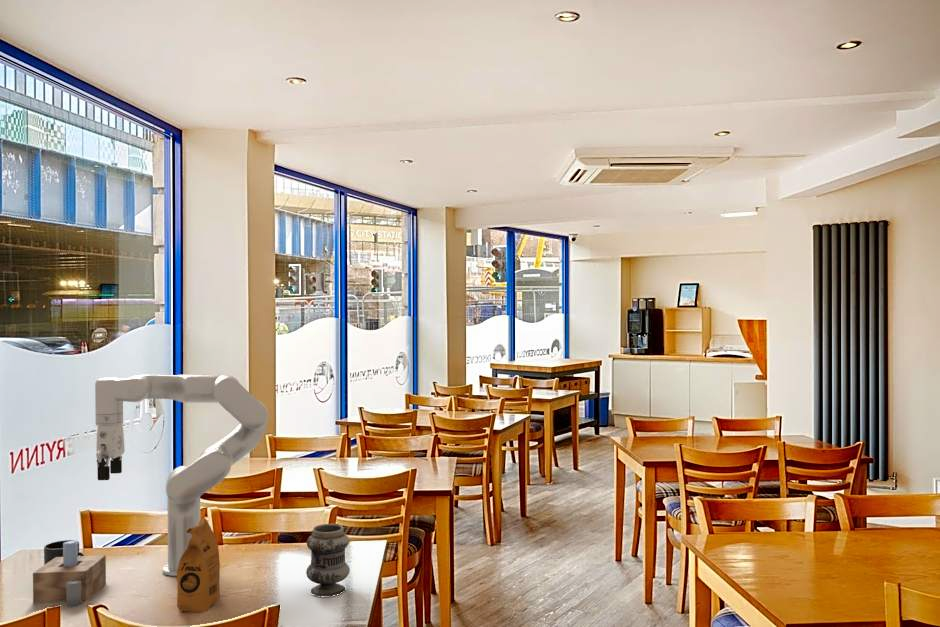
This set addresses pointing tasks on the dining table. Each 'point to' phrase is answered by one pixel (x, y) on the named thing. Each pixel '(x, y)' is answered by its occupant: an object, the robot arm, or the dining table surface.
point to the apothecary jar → (327, 559)
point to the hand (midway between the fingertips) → (110, 476)
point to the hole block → (68, 578)
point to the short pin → (73, 593)
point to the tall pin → (70, 554)
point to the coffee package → (199, 571)
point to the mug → (56, 550)
